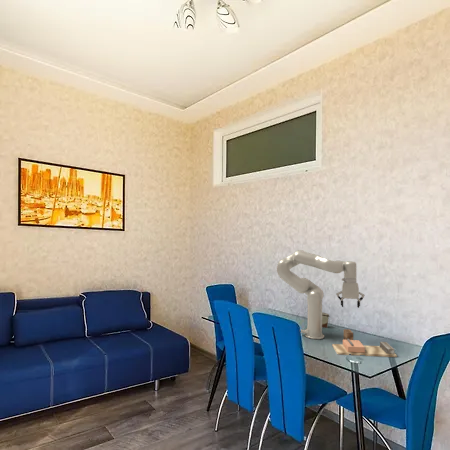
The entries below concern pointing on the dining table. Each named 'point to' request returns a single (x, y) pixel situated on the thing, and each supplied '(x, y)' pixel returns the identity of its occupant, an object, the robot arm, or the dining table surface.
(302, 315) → the dining table surface
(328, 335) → the dining table surface
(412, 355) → the dining table surface
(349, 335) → the walnut block
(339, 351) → the vise
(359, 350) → the block
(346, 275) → the robot arm
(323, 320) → the food container
